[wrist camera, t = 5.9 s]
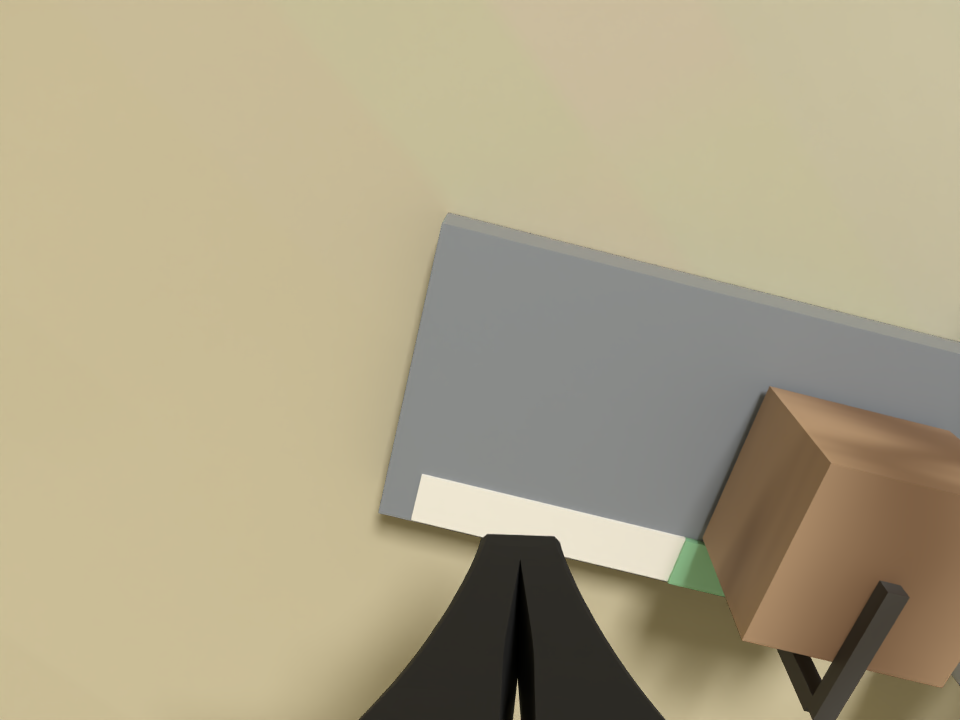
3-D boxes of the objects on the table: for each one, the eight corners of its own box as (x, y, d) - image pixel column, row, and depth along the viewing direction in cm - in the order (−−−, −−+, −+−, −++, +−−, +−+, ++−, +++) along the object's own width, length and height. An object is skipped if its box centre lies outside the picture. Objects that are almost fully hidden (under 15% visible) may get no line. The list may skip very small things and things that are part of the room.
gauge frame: (1138, 387, 20) (1410, 523, 14) (977, 628, 23) (1138, 822, 17) (448, 212, 19) (412, 273, 13) (387, 486, 22) (336, 635, 16)
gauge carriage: (949, 430, 18) (1069, 529, 14) (842, 620, 21) (918, 749, 17) (769, 385, 18) (838, 473, 14) (683, 581, 21) (720, 703, 17)
